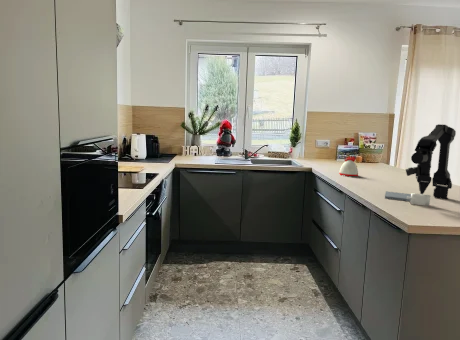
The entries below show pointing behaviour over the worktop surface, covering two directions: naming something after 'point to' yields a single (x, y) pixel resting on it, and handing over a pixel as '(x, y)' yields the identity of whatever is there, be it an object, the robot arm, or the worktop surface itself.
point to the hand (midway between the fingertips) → (421, 192)
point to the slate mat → (397, 196)
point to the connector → (419, 199)
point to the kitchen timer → (349, 168)
